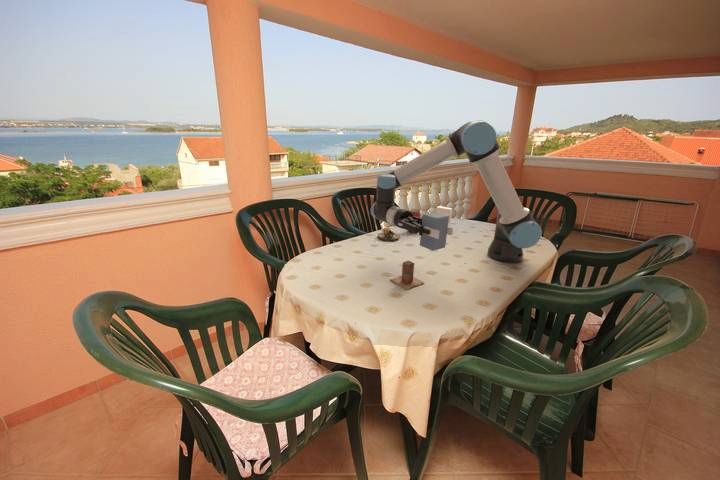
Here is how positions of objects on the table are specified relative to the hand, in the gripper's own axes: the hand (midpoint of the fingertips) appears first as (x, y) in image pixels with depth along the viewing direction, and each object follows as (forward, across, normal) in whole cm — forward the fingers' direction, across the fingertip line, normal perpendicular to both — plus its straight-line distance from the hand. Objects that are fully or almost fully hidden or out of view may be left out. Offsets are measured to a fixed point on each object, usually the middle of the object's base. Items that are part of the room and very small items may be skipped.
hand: (445, 233), depth 109 cm
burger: (-54, -22, -22) cm, 62 cm away
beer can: (-55, -42, -21) cm, 72 cm away
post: (-10, +6, -21) cm, 24 cm away
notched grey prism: (-5, 0, -6) cm, 8 cm away
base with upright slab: (-52, -62, -21) cm, 84 cm away
